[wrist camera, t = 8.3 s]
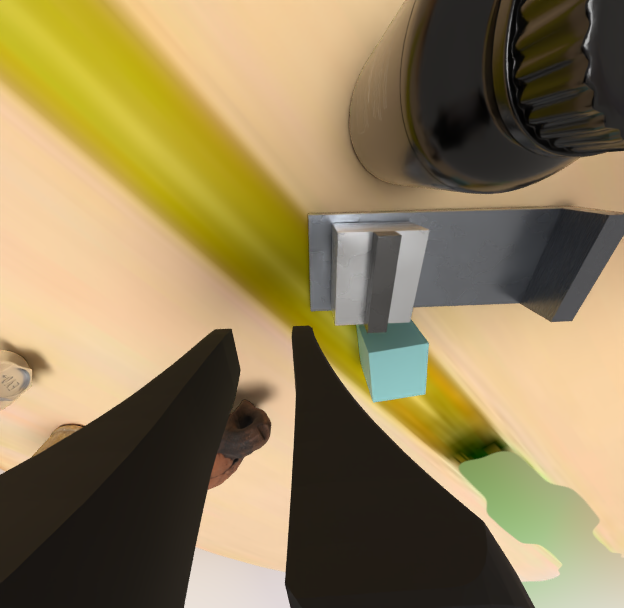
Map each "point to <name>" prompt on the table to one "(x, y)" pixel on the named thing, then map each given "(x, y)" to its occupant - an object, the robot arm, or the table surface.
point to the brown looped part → (239, 440)
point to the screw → (13, 377)
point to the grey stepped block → (375, 272)
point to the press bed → (490, 255)
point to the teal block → (394, 361)
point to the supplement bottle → (490, 92)
